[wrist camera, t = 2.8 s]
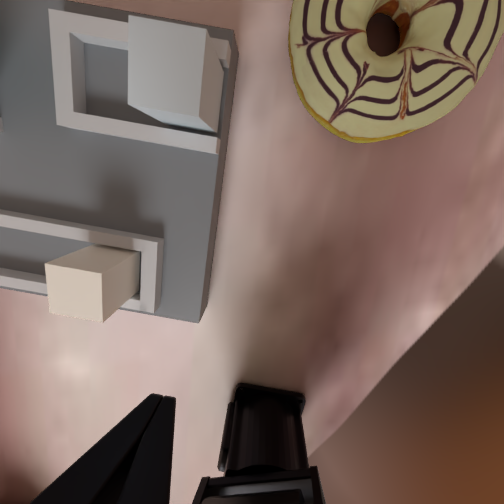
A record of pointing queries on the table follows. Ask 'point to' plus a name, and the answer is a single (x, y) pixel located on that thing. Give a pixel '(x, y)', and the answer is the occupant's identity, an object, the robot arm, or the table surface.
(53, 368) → the table surface
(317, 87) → the decorated donut
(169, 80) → the grey slider
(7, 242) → the panel
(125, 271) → the cream slider
